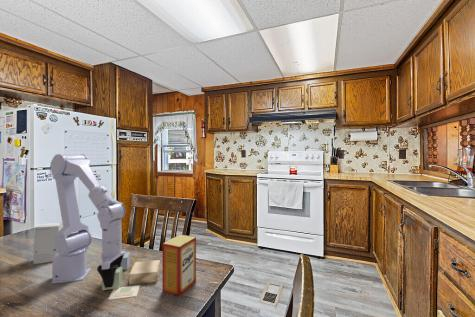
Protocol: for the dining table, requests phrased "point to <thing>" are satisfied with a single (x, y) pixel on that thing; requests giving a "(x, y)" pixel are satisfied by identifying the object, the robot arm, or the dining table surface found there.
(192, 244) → the baking soda box
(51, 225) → the skincare box
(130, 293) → the card
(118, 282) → the sage green block
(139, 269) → the birch base block
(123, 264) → the dusty blue block
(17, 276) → the dining table surface
